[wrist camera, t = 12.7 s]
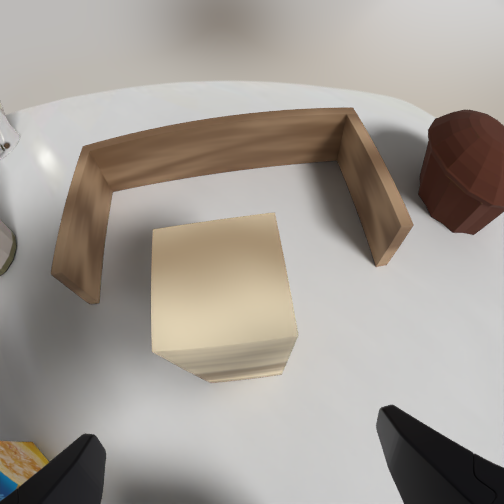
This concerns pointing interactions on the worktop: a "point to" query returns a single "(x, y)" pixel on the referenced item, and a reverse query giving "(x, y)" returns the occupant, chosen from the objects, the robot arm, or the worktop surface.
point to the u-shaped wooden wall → (218, 161)
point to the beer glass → (7, 135)
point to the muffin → (464, 171)
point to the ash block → (222, 298)
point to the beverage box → (18, 464)
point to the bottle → (6, 247)
